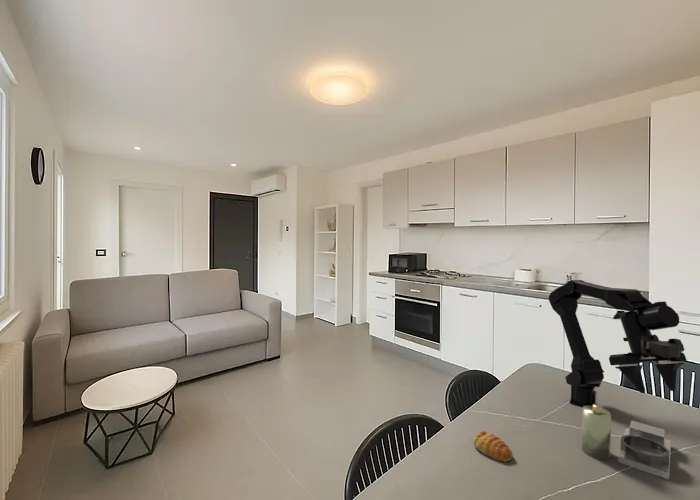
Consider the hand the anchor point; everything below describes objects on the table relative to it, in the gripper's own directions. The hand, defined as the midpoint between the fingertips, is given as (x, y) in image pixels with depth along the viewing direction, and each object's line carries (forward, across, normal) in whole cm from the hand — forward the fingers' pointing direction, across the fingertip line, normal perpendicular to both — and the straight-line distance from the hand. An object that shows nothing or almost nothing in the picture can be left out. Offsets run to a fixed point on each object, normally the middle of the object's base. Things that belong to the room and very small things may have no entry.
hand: (658, 392), depth 92 cm
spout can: (+14, -19, +6) cm, 24 cm away
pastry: (+12, -45, +10) cm, 48 cm away
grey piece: (+15, -7, +3) cm, 16 cm away
